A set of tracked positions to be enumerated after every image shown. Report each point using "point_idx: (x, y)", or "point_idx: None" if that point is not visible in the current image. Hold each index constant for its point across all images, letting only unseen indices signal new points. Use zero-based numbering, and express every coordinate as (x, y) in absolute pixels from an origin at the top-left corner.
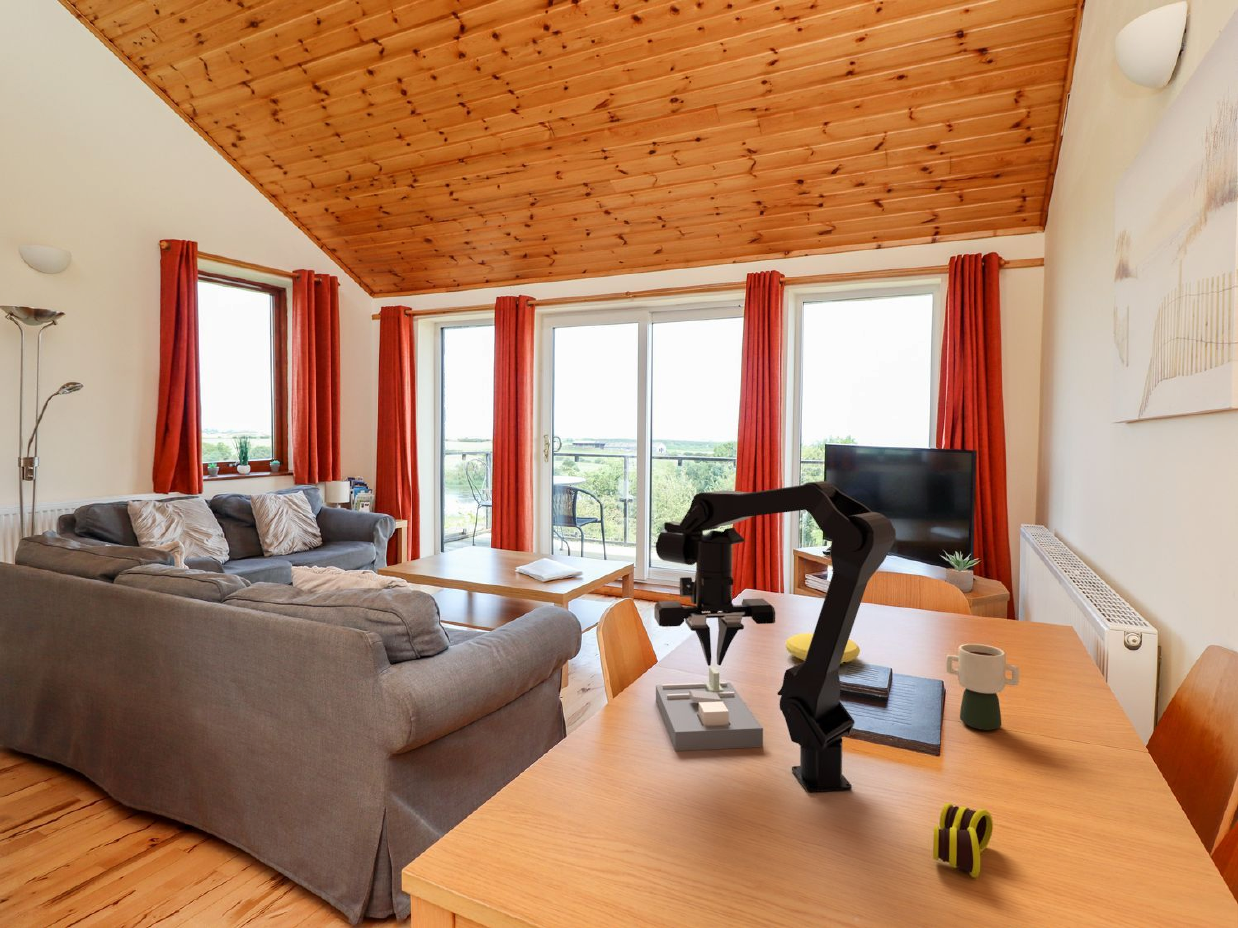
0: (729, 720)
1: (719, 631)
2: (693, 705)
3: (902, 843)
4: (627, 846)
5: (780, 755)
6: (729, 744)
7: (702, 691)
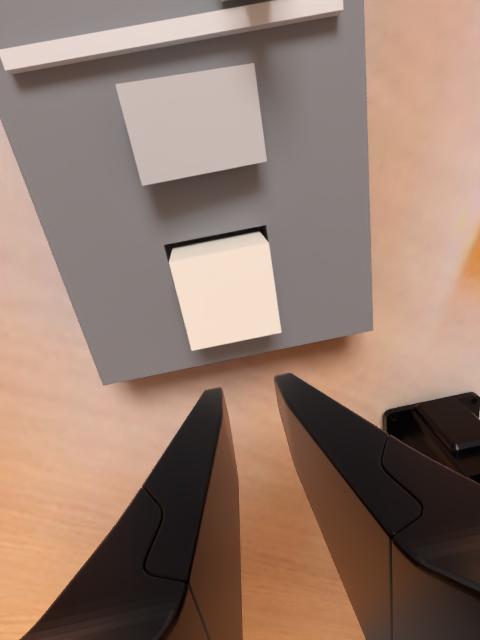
0: (279, 287)
1: (398, 583)
2: None
3: None
4: None
5: (381, 347)
6: None
7: (183, 78)
